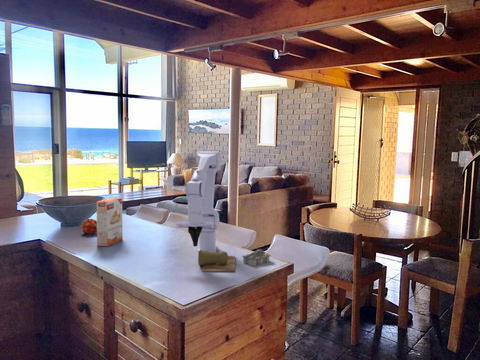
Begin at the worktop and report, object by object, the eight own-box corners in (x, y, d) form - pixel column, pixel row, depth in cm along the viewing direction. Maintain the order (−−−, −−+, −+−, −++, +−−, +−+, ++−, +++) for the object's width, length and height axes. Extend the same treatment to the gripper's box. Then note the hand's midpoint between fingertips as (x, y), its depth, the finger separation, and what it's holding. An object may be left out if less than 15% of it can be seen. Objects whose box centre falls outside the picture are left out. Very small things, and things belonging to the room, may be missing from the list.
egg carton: (261, 257, 163) (261, 248, 162) (272, 262, 157) (272, 252, 156) (240, 261, 157) (240, 251, 157) (250, 266, 151) (250, 256, 150)
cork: (202, 257, 156) (229, 258, 154) (199, 268, 151) (227, 269, 149) (200, 246, 152) (227, 247, 151) (197, 257, 147) (226, 258, 146)
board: (206, 257, 162) (206, 255, 162) (235, 257, 162) (235, 256, 162) (202, 271, 144) (202, 270, 144) (234, 272, 144) (234, 270, 144)
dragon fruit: (87, 234, 207) (97, 241, 199) (74, 227, 201) (84, 234, 193) (96, 220, 209) (107, 227, 201) (84, 213, 203) (94, 220, 195)
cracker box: (108, 247, 176) (107, 201, 174) (96, 246, 178) (95, 201, 175) (123, 239, 190) (122, 197, 188) (112, 238, 191) (111, 197, 189)
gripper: (175, 213, 147) (175, 248, 148) (213, 213, 147) (213, 248, 148) (177, 210, 154) (178, 243, 155) (214, 210, 154) (214, 243, 155)
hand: (195, 245), depth 152 cm, fingers closed
